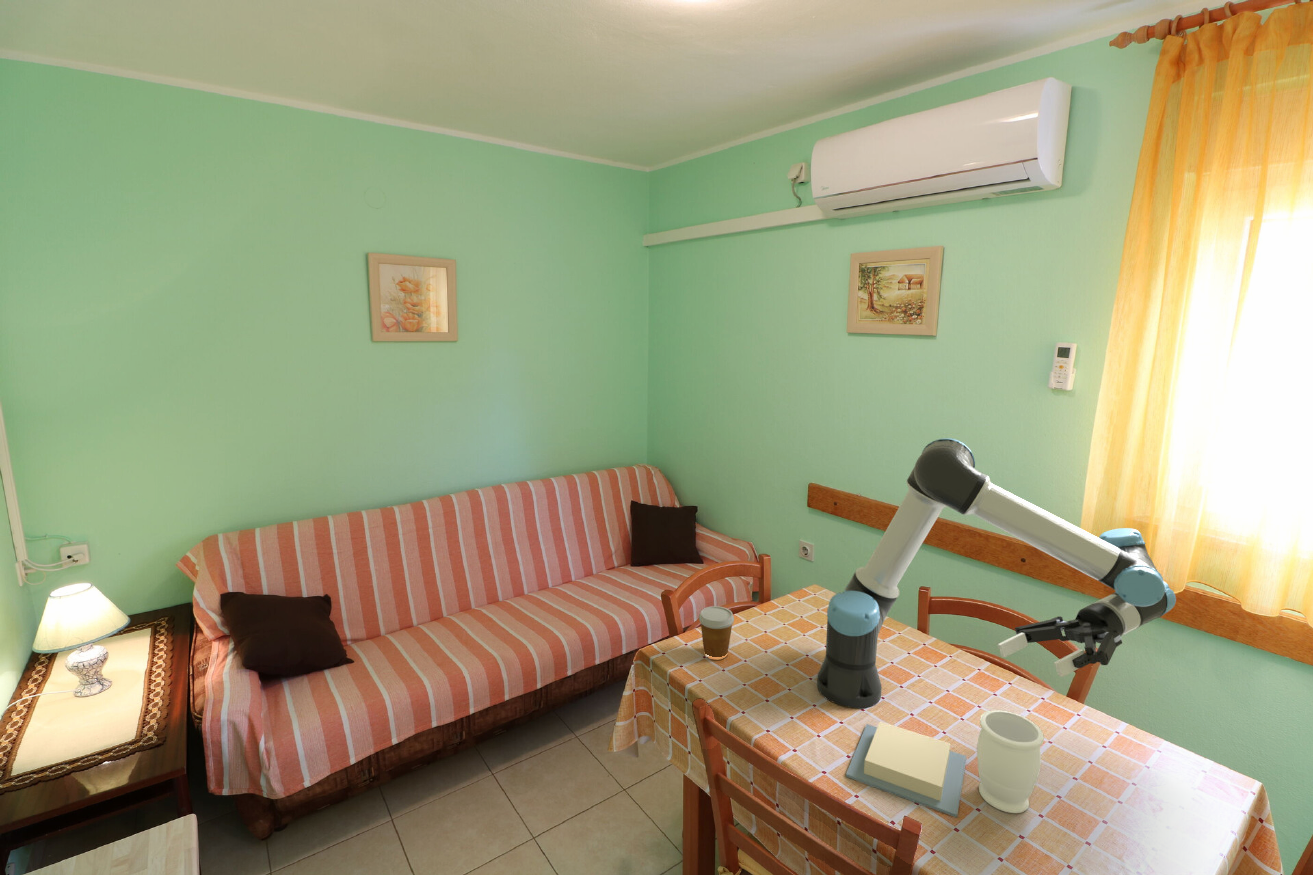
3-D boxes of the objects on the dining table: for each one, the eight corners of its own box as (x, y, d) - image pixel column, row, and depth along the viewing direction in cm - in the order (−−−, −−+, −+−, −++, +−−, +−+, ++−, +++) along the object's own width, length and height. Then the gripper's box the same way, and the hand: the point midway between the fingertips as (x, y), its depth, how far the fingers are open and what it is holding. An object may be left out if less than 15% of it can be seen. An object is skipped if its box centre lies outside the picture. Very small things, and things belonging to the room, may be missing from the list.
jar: (1034, 827, 110) (1044, 753, 107) (969, 804, 115) (977, 732, 112) (1035, 789, 119) (1044, 720, 116) (975, 769, 124) (982, 702, 121)
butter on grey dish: (845, 776, 122) (846, 760, 122) (866, 726, 137) (867, 711, 137) (956, 817, 112) (958, 800, 111) (966, 758, 127) (967, 742, 127)
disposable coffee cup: (692, 657, 166) (692, 616, 163) (708, 642, 174) (708, 602, 171) (724, 667, 161) (725, 625, 158) (739, 651, 169) (740, 610, 166)
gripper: (1176, 652, 115) (1092, 698, 110) (1059, 623, 139) (985, 660, 134) (1163, 614, 115) (1079, 659, 110) (1049, 592, 139) (975, 627, 134)
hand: (1027, 659), depth 122 cm, fingers open, 13 cm apart
